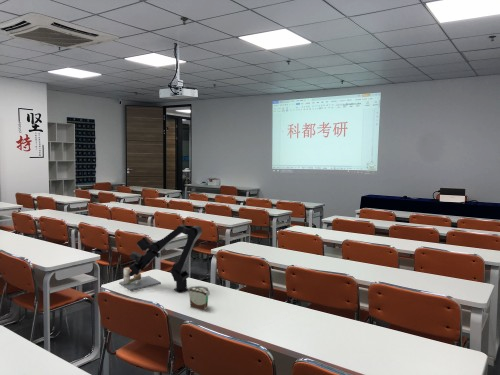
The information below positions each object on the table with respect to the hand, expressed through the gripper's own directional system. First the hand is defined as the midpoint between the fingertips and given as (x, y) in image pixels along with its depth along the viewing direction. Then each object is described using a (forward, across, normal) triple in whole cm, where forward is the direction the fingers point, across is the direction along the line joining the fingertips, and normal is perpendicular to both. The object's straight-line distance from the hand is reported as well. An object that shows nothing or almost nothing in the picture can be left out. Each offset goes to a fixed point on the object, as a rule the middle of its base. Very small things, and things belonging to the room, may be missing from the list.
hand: (130, 275), depth 226 cm
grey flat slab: (+1, -4, +8) cm, 9 cm away
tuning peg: (+4, -5, +3) cm, 7 cm away
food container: (-29, +27, +39) cm, 55 cm away
